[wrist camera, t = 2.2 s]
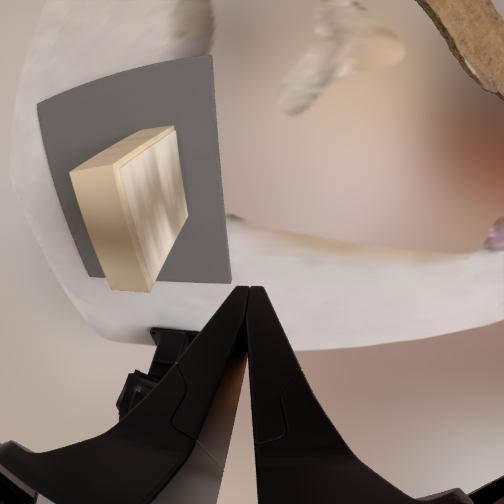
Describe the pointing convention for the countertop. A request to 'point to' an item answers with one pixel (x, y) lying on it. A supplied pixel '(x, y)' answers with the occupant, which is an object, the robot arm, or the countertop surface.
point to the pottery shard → (472, 38)
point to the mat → (129, 122)
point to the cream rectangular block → (133, 206)
